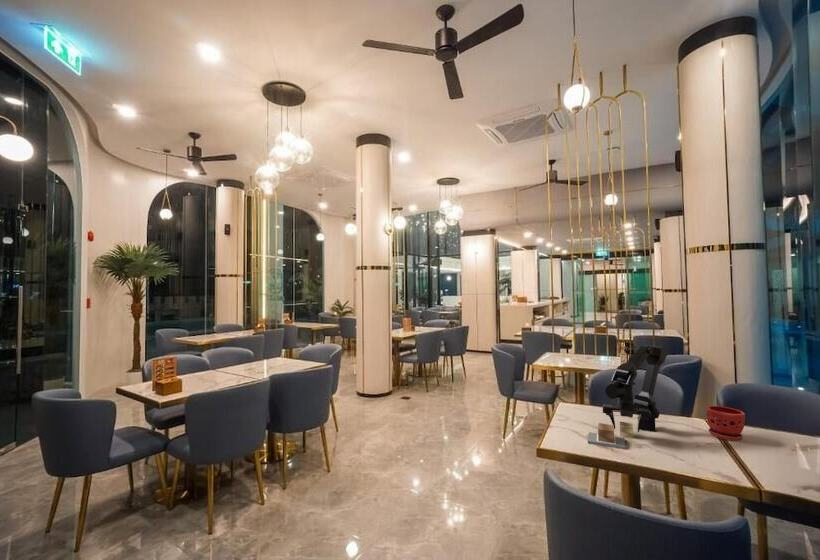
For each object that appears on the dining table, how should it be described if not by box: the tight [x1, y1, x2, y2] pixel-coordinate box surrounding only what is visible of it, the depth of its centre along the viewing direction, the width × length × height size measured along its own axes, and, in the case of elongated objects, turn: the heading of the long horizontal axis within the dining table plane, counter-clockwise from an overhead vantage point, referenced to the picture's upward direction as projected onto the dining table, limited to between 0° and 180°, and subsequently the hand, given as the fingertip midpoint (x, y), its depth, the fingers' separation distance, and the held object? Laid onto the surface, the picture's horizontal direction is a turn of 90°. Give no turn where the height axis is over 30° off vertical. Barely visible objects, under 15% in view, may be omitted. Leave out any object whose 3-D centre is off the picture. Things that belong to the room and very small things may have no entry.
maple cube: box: [619, 421, 634, 439], centre depth 173 cm, size 5×5×5 cm
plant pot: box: [706, 405, 746, 441], centre depth 170 cm, size 13×13×12 cm
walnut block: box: [597, 422, 615, 443], centre depth 166 cm, size 6×8×5 cm
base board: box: [587, 431, 626, 450], centre depth 166 cm, size 14×11×1 cm
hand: (626, 430), depth 173 cm, fingers open, 9 cm apart
